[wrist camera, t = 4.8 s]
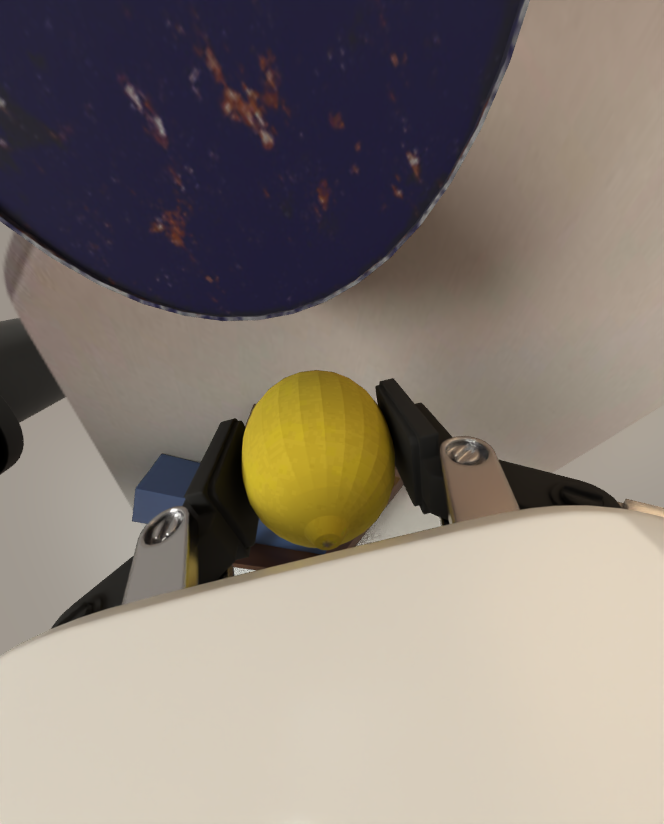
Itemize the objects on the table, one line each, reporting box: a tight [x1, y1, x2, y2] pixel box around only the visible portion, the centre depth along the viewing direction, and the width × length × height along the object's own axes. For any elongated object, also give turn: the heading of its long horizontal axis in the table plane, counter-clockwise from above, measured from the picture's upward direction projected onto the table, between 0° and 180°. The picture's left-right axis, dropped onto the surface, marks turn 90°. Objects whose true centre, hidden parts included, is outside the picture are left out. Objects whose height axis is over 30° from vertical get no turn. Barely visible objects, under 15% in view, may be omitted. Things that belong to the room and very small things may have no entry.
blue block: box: [132, 454, 200, 524], centre depth 25 cm, size 4×4×4 cm
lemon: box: [242, 370, 395, 550], centre depth 10 cm, size 6×6×8 cm
